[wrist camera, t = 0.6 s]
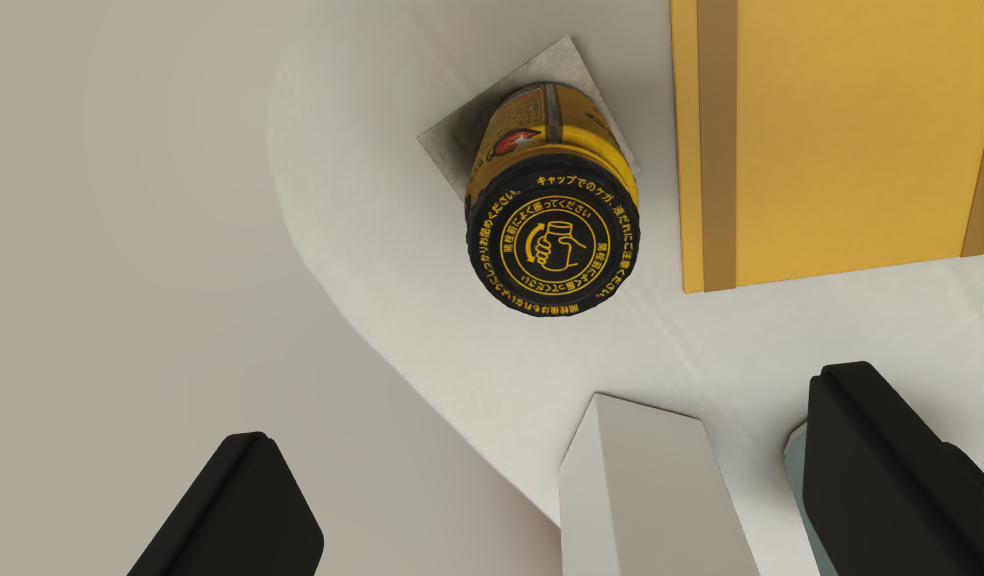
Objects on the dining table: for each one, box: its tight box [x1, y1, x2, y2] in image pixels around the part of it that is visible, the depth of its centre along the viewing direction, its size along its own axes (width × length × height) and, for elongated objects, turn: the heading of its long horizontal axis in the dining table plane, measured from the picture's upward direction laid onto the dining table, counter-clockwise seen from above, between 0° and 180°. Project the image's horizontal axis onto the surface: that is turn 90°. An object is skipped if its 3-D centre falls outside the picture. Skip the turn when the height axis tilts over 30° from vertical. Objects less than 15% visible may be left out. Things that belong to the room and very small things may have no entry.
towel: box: [670, 0, 984, 294], centre depth 23 cm, size 22×16×1 cm
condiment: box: [417, 34, 642, 317], centre depth 21 cm, size 7×8×12 cm
